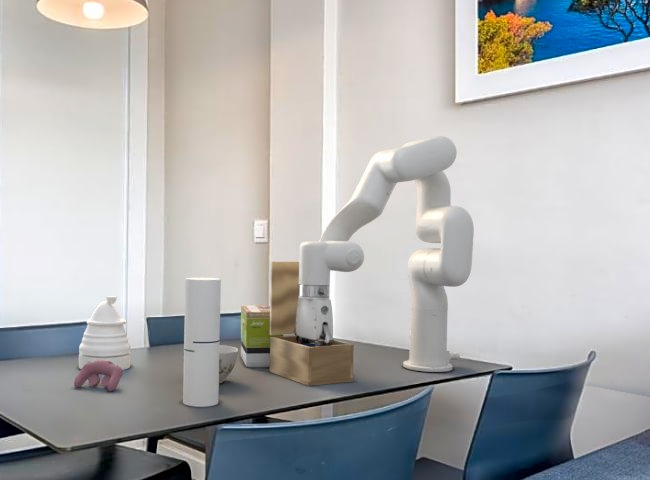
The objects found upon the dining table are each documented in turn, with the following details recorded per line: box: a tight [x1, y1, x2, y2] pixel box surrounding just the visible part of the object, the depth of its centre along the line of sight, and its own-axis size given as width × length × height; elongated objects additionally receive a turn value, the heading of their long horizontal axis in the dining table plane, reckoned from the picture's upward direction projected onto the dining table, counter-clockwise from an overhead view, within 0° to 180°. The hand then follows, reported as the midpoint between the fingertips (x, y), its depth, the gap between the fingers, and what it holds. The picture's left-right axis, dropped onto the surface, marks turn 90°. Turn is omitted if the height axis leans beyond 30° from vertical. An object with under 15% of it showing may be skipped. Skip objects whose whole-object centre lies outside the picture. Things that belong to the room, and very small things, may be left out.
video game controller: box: [73, 360, 124, 392], centre depth 148 cm, size 10×5×7 cm, turn 71°
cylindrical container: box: [182, 277, 222, 408], centre depth 136 cm, size 7×7×25 cm
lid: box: [269, 261, 299, 336], centre depth 174 cm, size 18×13×5 cm
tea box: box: [240, 304, 284, 368], centre depth 182 cm, size 15×10×15 cm, turn 6°
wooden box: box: [269, 335, 355, 387], centre depth 164 cm, size 18×13×9 cm
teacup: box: [219, 344, 239, 384], centre depth 157 cm, size 15×12×8 cm
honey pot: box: [78, 295, 131, 371], centre depth 172 cm, size 13×13×18 cm
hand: (312, 365), depth 163 cm, fingers closed on cup, 6 cm apart
